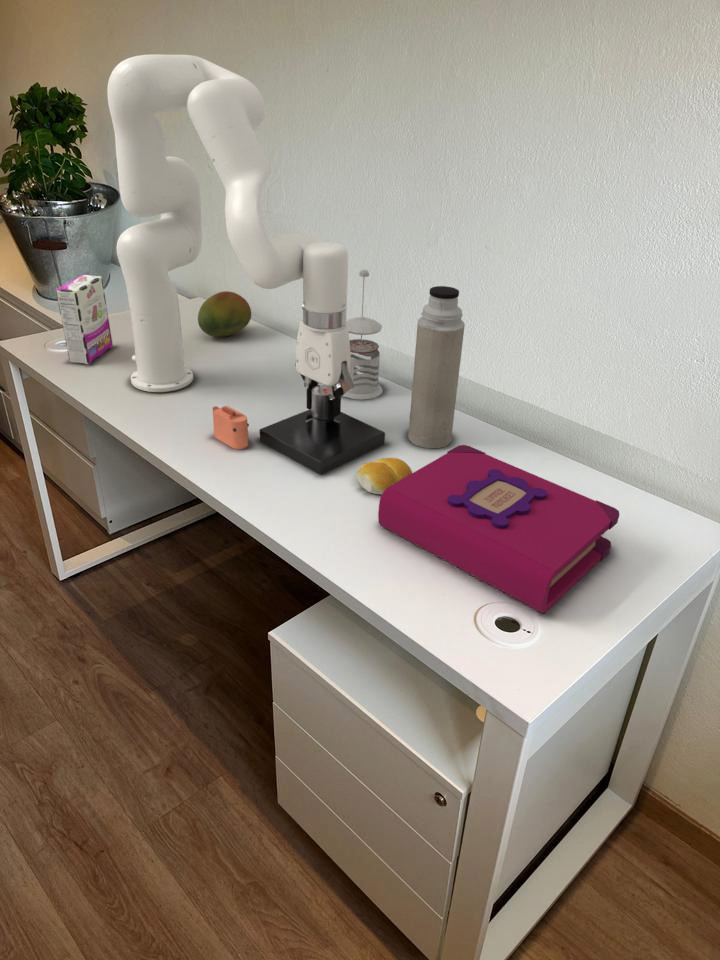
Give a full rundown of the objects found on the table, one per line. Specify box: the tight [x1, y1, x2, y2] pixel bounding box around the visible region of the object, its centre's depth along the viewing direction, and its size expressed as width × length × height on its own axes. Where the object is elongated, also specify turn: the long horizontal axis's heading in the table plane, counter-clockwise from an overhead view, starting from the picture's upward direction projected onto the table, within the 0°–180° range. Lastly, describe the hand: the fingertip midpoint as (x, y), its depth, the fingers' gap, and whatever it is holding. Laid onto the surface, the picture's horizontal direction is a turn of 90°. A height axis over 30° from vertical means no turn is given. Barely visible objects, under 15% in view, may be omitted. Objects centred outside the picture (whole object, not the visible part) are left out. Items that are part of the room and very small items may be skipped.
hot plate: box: [258, 409, 386, 476], centre depth 133 cm, size 17×17×3 cm
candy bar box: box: [55, 274, 114, 365], centre depth 160 cm, size 11×5×16 cm, turn 168°
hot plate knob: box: [312, 384, 336, 420], centre depth 136 cm, size 4×4×5 cm
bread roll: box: [356, 457, 413, 495], centre depth 122 cm, size 8×9×4 cm
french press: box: [335, 269, 384, 401], centre depth 147 cm, size 10×12×25 cm
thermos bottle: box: [407, 285, 466, 449], centre depth 130 cm, size 8×8×28 cm
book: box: [377, 444, 620, 614], centre depth 108 cm, size 21×28×8 cm
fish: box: [212, 405, 250, 450], centre depth 132 cm, size 8×3×6 cm, turn 46°
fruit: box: [197, 290, 252, 338], centre depth 175 cm, size 12×13×10 cm
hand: (323, 410), depth 137 cm, fingers closed on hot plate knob, 4 cm apart
